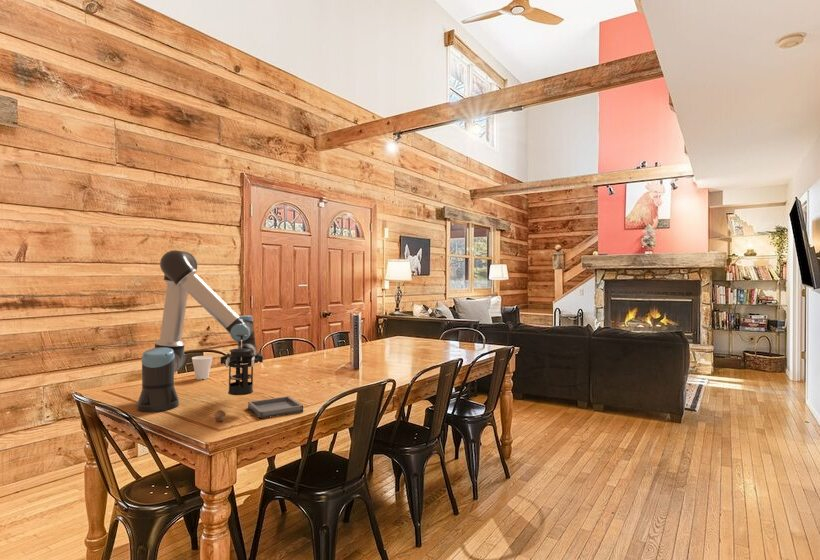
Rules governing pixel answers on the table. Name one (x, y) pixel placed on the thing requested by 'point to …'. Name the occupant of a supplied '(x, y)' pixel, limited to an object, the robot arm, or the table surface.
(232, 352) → the french press
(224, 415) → the wooden ball
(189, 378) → the table surface
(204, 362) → the cup
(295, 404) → the tray
